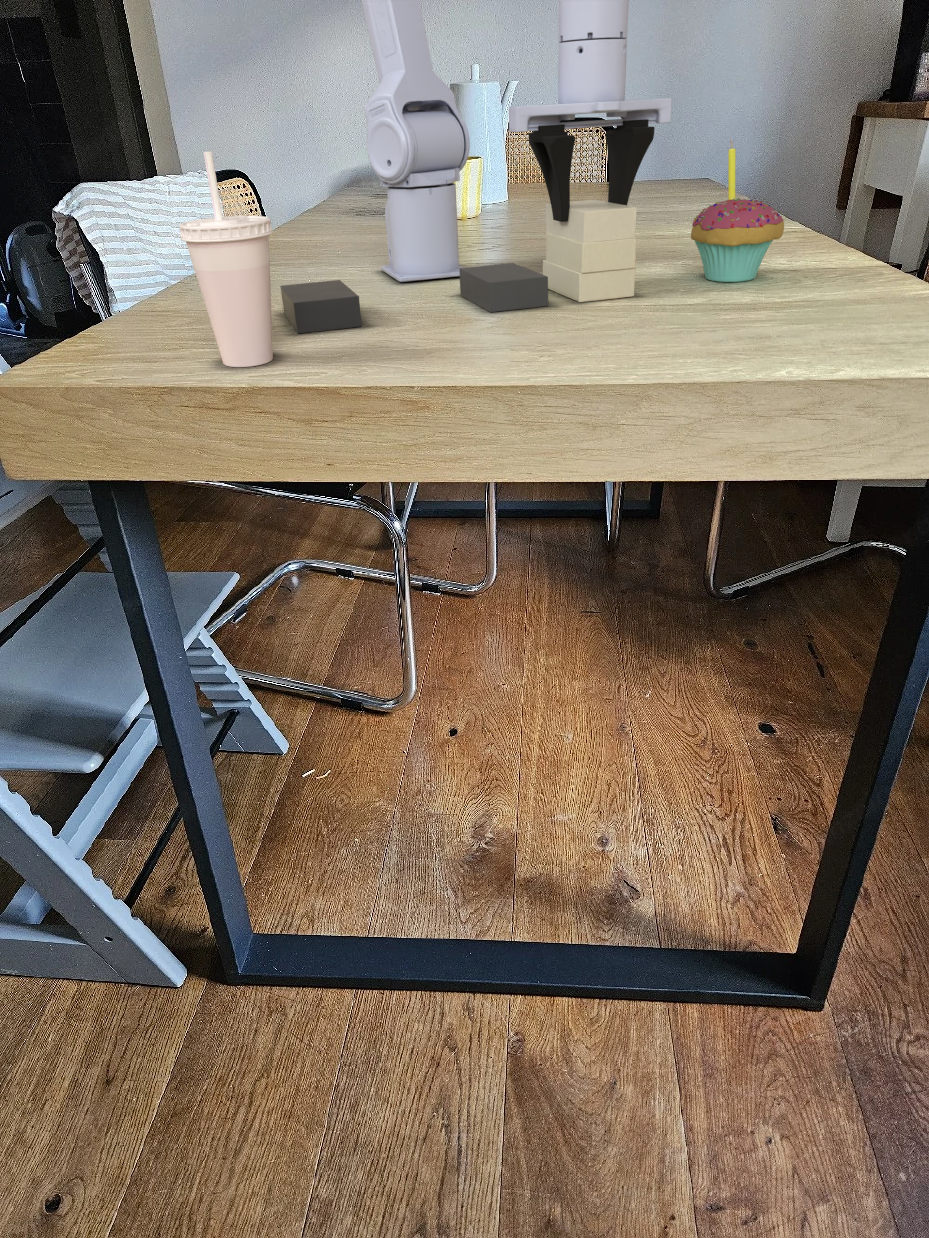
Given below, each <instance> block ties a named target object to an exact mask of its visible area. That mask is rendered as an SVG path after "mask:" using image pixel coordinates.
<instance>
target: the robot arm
mask: <svg viewBox="0 0 929 1238" xmlns="http://www.w3.org/2000/svg"><path fill="white" fill-rule="evenodd" d="M361 4H362V5H361V6H362V10H363V14H364V19H365V21H366V22H365V23H366V28H367V32H368V36H369V42H370V45H371V51H372V55H373V60H374V64H375V68H376V73H377V77H378V82H379V84H378V86H377V87H376V89H375V90H374V92H373V93H372V94H371V96H370V97H369V99H368V100H367V102H366V103H365V106H364V107H363V110H364V115H365V119H366V126H367V127H366V128H367V130H366V131H367V133H366V152H367V158H368V161H369V165H370V166H371V170H372V171H373V172H374V173H375V175H376V176H377V178H379V179H380V183H381V184H380V185H381V187H383V188H384V187H385V188H386V193H387V195H386V196H387V200H386V202H385V207H384V218H385V232H386V244H387V254H388V264H383V265H380V270H381V271H382V272H384V273H386V274H387V275H389V276H390V277H391V278H393V279H395V280H396V281H397V282H399V283H404V282H405V283H406V282H414V281H415V282H416V281H426V280H435V279H444V278H454V277H460V272H459V268H466V267H465V266H463V265H460V253H459V252H460V251H459V250H460V249H459V229H458V207H457V185H456V182H460V181H461V178H460V177H461V176H460V175H461V171H462V170H464V168H465V166H466V163H467V161H468V159H469V156H470V150H471V149H470V148H471V147H470V145H471V142H470V135H469V130H468V127H467V124H466V122H465V121H464V119H463V117H462V116H461V114H460V112H459V110H458V107H457V103H456V99H455V93H454V92H453V90H452V89H451V88H450V87H449V86H448V85H447V84H446V83H445V81H443V80H442V79H441V78H440V77H439V76H438V74H436V72H435V71H434V69H433V65H432V58H431V54H430V53H431V52H430V49H429V43H428V39H427V34H426V33H427V32H426V29H425V24H424V19H423V13H422V9H421V3H420V0H361ZM628 25H629V0H558V58H557V60H558V61H557V64H558V65H557V66H558V67H557V70H558V71H557V72H558V73H557V74H558V76H557V90H558V91H557V103H554V104H553V103H551V104H535V105H534V104H533V105H518V106H517V105H516V106H515V105H514V106H508V133H528V143H529V146H530V149H531V150H532V152H533V154H534V157H535V159H536V161H537V163H538V166H539V168H540V172H541V173H542V177H543V179H544V182H545V183H544V184H545V186H546V189H547V194H548V197H549V198H548V199H549V203H551V208H552V213H553V220H556V221H560V222H566V221H568V217H569V209H570V202H571V199H570V198H571V189H570V188H571V171H572V170H571V169H572V161H573V155H574V149H575V142H576V137H575V136H574V135H573V134H572V135H571V134H569V132H568V131H566V130H570V129H584V128H585V129H587V128H601V127H613V128H612V129H613V130H607V131H606V132H605V133H604V134H605V142H606V149H607V159H608V189H607V190H608V191H607V196H608V197H607V202H610V203H615V204H621V205H626V206H628V204H629V203H628V202H629V200H630V195H631V192H632V190H633V189H632V188H633V185H634V182H635V179H636V176H637V174H638V172H639V168H640V166H641V164H642V162H643V160H644V157H645V156H646V153H647V151H648V150H649V147H650V146H651V144H652V142H653V141H654V137H655V129H656V127H655V126H649V125H652V124H670V123H671V120H672V103H673V102H672V101H673V98H672V97H664V98H663V97H661V98H644V99H626V77H627V75H626V74H627V49H628V48H627V47H628V27H629V26H628ZM588 114H590V115H591V114H605V115H606V118H612V119H599V120H579V121H572V120H575V119H576V115H588ZM613 118H614V119H613ZM561 121H564V122H561ZM565 121H566V122H565Z"/></svg>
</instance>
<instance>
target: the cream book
mask: <svg viewBox="0 0 929 1238" xmlns="http://www.w3.org/2000/svg"><path fill="white" fill-rule="evenodd" d="M637 211H638V207H637V206H632V205H627V206H626V205H621V204H615V203H610V202H608V201H603V200H599V199H585V200H573V201H570V209H569V217H568V221H566V222H560V221H556V220H553V213H552V208H551V202H547V203H545V233H551V234H555V235H558V236H562V237H565V238H569V239H572V240H576V241H579V242H583V243H588V242H598V241H609V240H620V239H630V238H636V235H637V234H636V232H637V231H636V230H637V214H638V213H637Z"/></svg>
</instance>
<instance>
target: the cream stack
mask: <svg viewBox="0 0 929 1238" xmlns="http://www.w3.org/2000/svg"><path fill="white" fill-rule="evenodd" d="M636 253H637V237H635V238H630V239H620V240H609V241H598V242H588V243H583V242H579V241H576V240H572V239H569V238H565V237H562V236H558V235H555V234H551V233H548V232H545V259H543V260H542V275H545V276H547V277H548V291H552V292H554V293H557V294H559V295H561V296H564V297H566V298H568V299H571V300H573V301H574V302H577V303H587V302H594V301H595V302H597V301H604V300H606V301H607V300H615V299H622V298H632V297H635V284H636V257H637V256H636V255H637V254H636Z"/></svg>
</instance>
